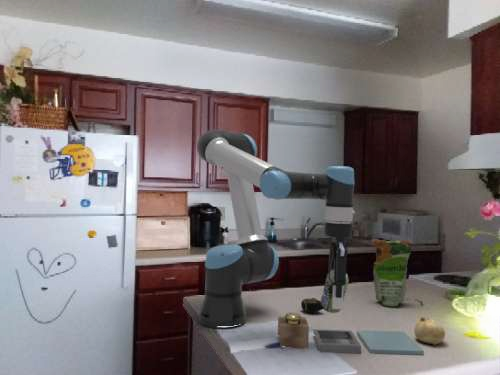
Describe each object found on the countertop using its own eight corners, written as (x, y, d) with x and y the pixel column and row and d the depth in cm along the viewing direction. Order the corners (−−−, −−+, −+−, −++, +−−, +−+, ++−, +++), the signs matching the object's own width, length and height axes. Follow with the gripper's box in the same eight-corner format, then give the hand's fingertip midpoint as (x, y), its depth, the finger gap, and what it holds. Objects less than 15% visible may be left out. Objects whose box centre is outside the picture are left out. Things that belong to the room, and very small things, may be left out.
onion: (435, 336, 115) (436, 313, 115) (450, 347, 107) (451, 322, 107) (409, 336, 115) (409, 312, 115) (422, 347, 107) (422, 321, 107)
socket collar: (318, 351, 102) (319, 344, 102) (313, 336, 113) (313, 329, 113) (360, 353, 102) (361, 345, 102) (351, 337, 113) (351, 330, 113)
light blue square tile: (370, 353, 102) (370, 349, 102) (356, 333, 116) (356, 330, 116) (423, 355, 102) (423, 351, 102) (403, 335, 116) (404, 331, 116)
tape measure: (325, 312, 133) (324, 301, 133) (307, 315, 131) (306, 304, 131) (315, 306, 140) (315, 296, 140) (298, 309, 138) (297, 299, 138)
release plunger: (285, 344, 105) (285, 317, 105) (284, 338, 110) (284, 312, 110) (301, 345, 105) (301, 318, 105) (299, 339, 110) (300, 312, 110)
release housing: (279, 348, 104) (279, 325, 104) (277, 337, 112) (278, 316, 112) (308, 349, 104) (308, 326, 104) (304, 338, 111) (305, 317, 111)
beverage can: (326, 302, 116) (329, 264, 113) (348, 311, 111) (353, 272, 109) (315, 309, 111) (319, 270, 108) (338, 319, 106) (343, 278, 104)
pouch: (412, 304, 147) (413, 239, 147) (393, 309, 140) (395, 241, 140) (387, 297, 156) (388, 236, 156) (368, 302, 149) (369, 237, 150)
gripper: (360, 225, 99) (356, 317, 99) (345, 219, 116) (342, 297, 116) (330, 224, 99) (327, 315, 99) (320, 218, 116) (317, 296, 116)
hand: (335, 305), depth 108 cm, fingers closed on beverage can, 4 cm apart
